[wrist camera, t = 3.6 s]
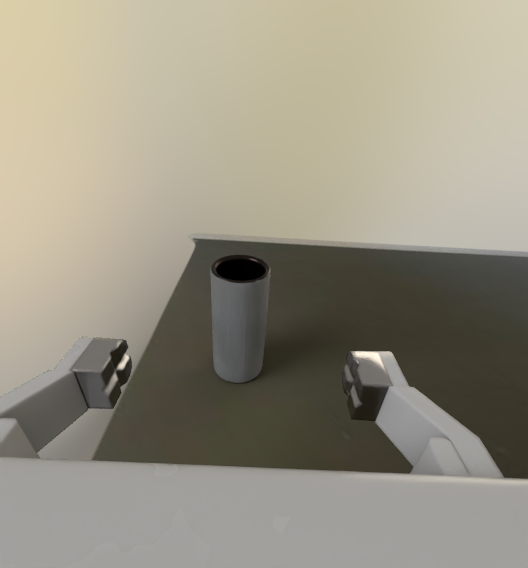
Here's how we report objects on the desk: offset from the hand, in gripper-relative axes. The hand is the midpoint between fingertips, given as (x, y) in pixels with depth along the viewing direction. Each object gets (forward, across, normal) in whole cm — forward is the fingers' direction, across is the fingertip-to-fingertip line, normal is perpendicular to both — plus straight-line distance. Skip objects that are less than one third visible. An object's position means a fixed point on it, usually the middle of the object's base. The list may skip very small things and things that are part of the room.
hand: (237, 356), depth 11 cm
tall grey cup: (+12, +1, +13) cm, 18 cm away
